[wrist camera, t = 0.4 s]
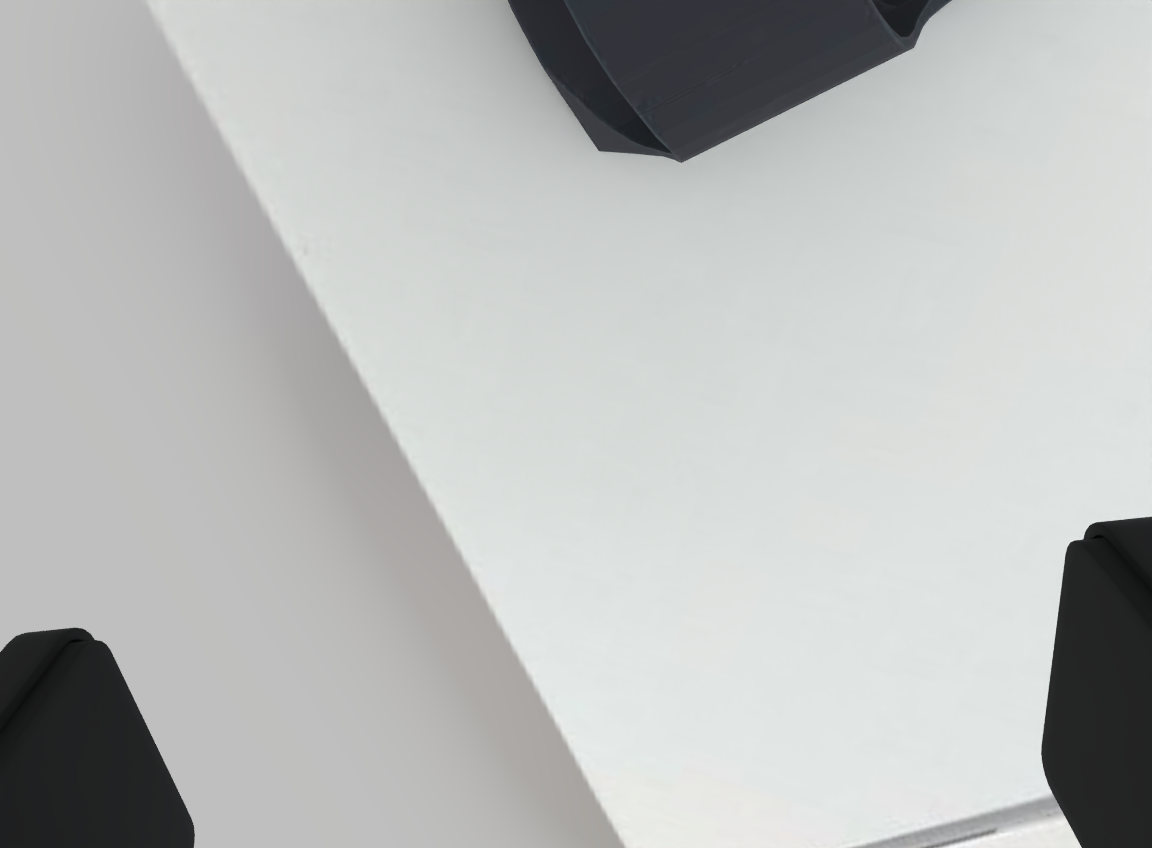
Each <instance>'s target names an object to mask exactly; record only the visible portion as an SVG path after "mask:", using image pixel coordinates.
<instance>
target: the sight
mask: <svg viewBox="0 0 1152 848" xmlns="http://www.w3.org/2000/svg"><path fill="white" fill-rule="evenodd" d="M950 1H952V0H508V2H509V4H510V7H511V9H512V11H513V13H514V15H515V17H516V19H517V20H518V22H519V24H520V26H521V28H522V30H523V32H524V34H525V36H526V37H527V39H528V41H529V43H530V45H531V47H532V49H533V51H534V52H535V54H536V56H537V58H538V59H539V61H540V63H541V65H542V66H543V68H544V70H545V71H546V73H547V74H548V76H549V77H550V79H551V80H552V82H553V83H554V85H555V86H556V88H557V89H558V91H559V92H560V94H561V95H562V97H563V98H564V100H565V101H566V103H567V104H568V105H569V107H570V108H571V110H572V111H573V113H574V114H575V116H576V117H577V119H578V120H579V122H580V123H581V125H582V126H583V128H584V129H585V131H586V132H587V134H588V135H589V137H590V138H591V140H592V141H593V143H594V144H595V146H596V147H597V149H598V150H599V151H606V152H620V153H634V154H644V155H654V156H664V157H667V158H670V159H674V160H676V161H679V162H681V163H682V162H684V161H686V160H688V159H690V158H692V157H694V156H696V155H698V154H700V153H702V152H704V151H706V150H708V149H710V148H712V147H714V146H716V145H718V144H720V143H722V142H724V141H726V140H728V139H730V138H732V137H734V136H736V135H738V134H740V133H742V132H745V131H747V130H749V129H751V128H753V127H755V126H757V125H759V124H761V123H763V122H765V121H767V120H769V119H771V118H773V117H775V116H777V115H779V114H781V113H783V112H785V111H787V110H789V109H791V108H793V107H795V106H797V105H799V104H801V103H803V102H805V101H807V100H809V99H811V98H813V97H815V96H817V95H819V94H821V93H823V92H825V91H827V90H829V89H831V88H833V87H835V86H837V85H839V84H841V83H843V82H846V81H848V80H850V79H852V78H854V77H856V76H858V75H860V74H862V73H864V72H866V71H868V70H870V69H872V68H874V67H876V66H878V65H880V64H882V63H884V62H886V61H888V60H890V59H892V58H894V57H896V56H898V55H900V54H902V53H904V52H906V51H908V50H910V49H912V48H914V46H915V44H916V42H917V39H918V37H919V35H920V32H921V30H922V27H923V26H924V25H925V23H926V22H927V21H928V19H929V18H930V17H931V16H932V15H934V14H935V13H936V12H937V11H939V10H940V9H941V8H942V7H944V6H945V5H946V4H947V3H949V2H950Z"/></svg>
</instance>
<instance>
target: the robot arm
mask: <svg viewBox="0 0 1152 848" xmlns="http://www.w3.org/2000/svg"><path fill="white" fill-rule="evenodd" d="M1041 755H1042V763H1043V768H1044V772H1045V776H1046V779H1047V782H1048V784H1049V786H1050V789H1051V791H1052V793H1053V795H1054V797H1055V798H1056V800H1057V802H1058V804H1059V806H1060V808H1061V810H1062V811H1063V813H1064V815H1065V817H1066V819H1067V821H1068V823H1069V825H1070V826H1071V828H1072V830H1073V832H1074V834H1075V836H1076V838H1077V839H1078V841H1079V843H1080V845H1081V847H1082V848H1152V517H1145V518H1135V519H1125V520H1116V521H1106V522H1096V523H1094V524H1092V525H1090V526H1089V527H1088V529H1087V530H1086V532H1085V535H1084V539H1083V540H1077V541H1073V542H1071V543H1070V544H1069V546H1068V547H1067V551H1066V556H1065V564H1064V572H1063V580H1062V588H1061V596H1060V604H1059V612H1058V620H1057V628H1056V636H1055V644H1054V652H1053V660H1052V668H1051V676H1050V684H1049V692H1048V700H1047V708H1046V716H1045V723H1044V731H1043V739H1042V752H1041ZM194 837H195V834H194V825H193V822H192V819H191V817H190V815H189V813H188V811H187V808H186V806H185V804H184V802H183V800H182V798H181V796H180V794H179V792H178V790H177V788H176V786H175V783H174V781H173V779H172V777H171V775H170V773H169V771H168V769H167V767H166V765H165V763H164V761H163V759H162V756H161V755H160V752H159V750H158V748H157V746H156V744H155V742H154V740H153V738H152V736H151V734H150V731H149V729H148V727H147V725H146V723H145V721H144V719H143V717H142V715H141V713H140V711H139V709H138V707H137V704H136V703H135V701H134V698H133V696H132V694H131V692H130V690H129V688H128V686H127V684H126V682H125V680H124V677H123V676H122V673H121V671H120V669H119V667H118V665H117V663H116V661H115V659H114V657H113V655H112V653H111V651H110V649H109V648H108V646H107V645H106V644H105V643H103V642H102V641H97V640H94V638H93V637H92V635H91V634H90V633H89V632H87V631H86V630H84V629H81V628H69V629H58V630H49V631H39V632H29V633H24V634H21V635H18V636H16V637H15V638H13V639H12V640H11V641H10V642H9V643H8V644H7V645H6V646H5V647H4V649H3V650H2V651H1V652H0V848H194Z"/></svg>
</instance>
